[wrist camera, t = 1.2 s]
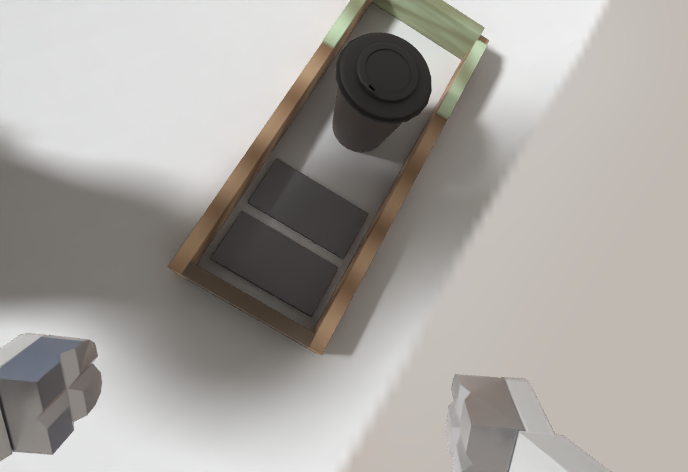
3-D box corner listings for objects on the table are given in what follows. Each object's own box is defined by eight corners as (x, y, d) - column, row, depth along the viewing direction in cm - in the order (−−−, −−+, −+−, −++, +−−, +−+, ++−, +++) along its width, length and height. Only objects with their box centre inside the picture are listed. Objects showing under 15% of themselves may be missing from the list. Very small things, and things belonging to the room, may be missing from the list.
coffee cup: (311, 154, 42) (330, 101, 33) (326, 81, 44) (347, 11, 35) (391, 173, 44) (431, 128, 34) (402, 102, 46) (443, 40, 36)
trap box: (316, 353, 38) (323, 355, 34) (173, 271, 37) (165, 264, 33) (475, 57, 49) (494, 34, 45) (367, -12, 48) (377, -42, 44)
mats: (310, 316, 39) (310, 316, 39) (210, 258, 38) (210, 258, 38) (367, 214, 42) (368, 213, 42) (276, 159, 41) (276, 158, 41)
